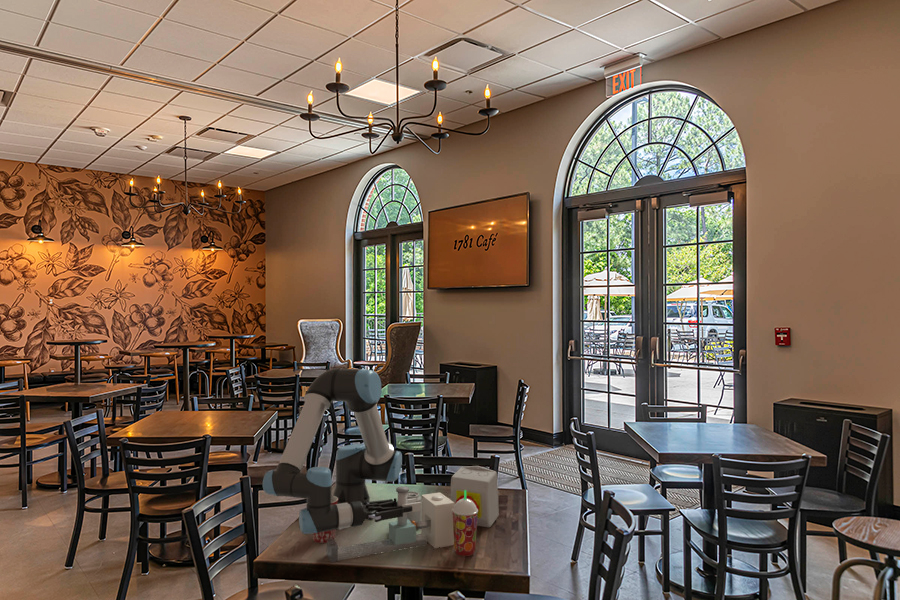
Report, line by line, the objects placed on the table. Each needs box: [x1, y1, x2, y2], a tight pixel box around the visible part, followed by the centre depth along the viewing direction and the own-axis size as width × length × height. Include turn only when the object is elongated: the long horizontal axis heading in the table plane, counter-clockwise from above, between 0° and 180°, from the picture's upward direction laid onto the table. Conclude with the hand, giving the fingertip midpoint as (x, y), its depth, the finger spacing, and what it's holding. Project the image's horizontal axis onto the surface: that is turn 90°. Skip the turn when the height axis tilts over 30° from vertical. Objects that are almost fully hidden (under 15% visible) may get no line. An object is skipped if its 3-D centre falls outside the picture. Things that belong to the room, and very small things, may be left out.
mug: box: [312, 494, 338, 544], centre depth 204 cm, size 13×9×14 cm
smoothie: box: [452, 490, 478, 557], centre depth 192 cm, size 8×8×20 cm
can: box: [407, 490, 421, 522], centre depth 214 cm, size 8×8×12 cm
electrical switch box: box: [450, 465, 500, 528], centre depth 217 cm, size 15×15×20 cm
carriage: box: [388, 486, 417, 545], centre depth 197 cm, size 7×7×17 cm
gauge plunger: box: [411, 520, 431, 531], centre depth 200 cm, size 4×9×4 cm, turn 115°
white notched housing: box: [420, 491, 455, 549], centre depth 202 cm, size 12×7×15 cm, turn 25°
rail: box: [326, 533, 428, 563], centre depth 193 cm, size 6×32×5 cm, turn 115°
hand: (417, 504), depth 199 cm, fingers open, 3 cm apart
